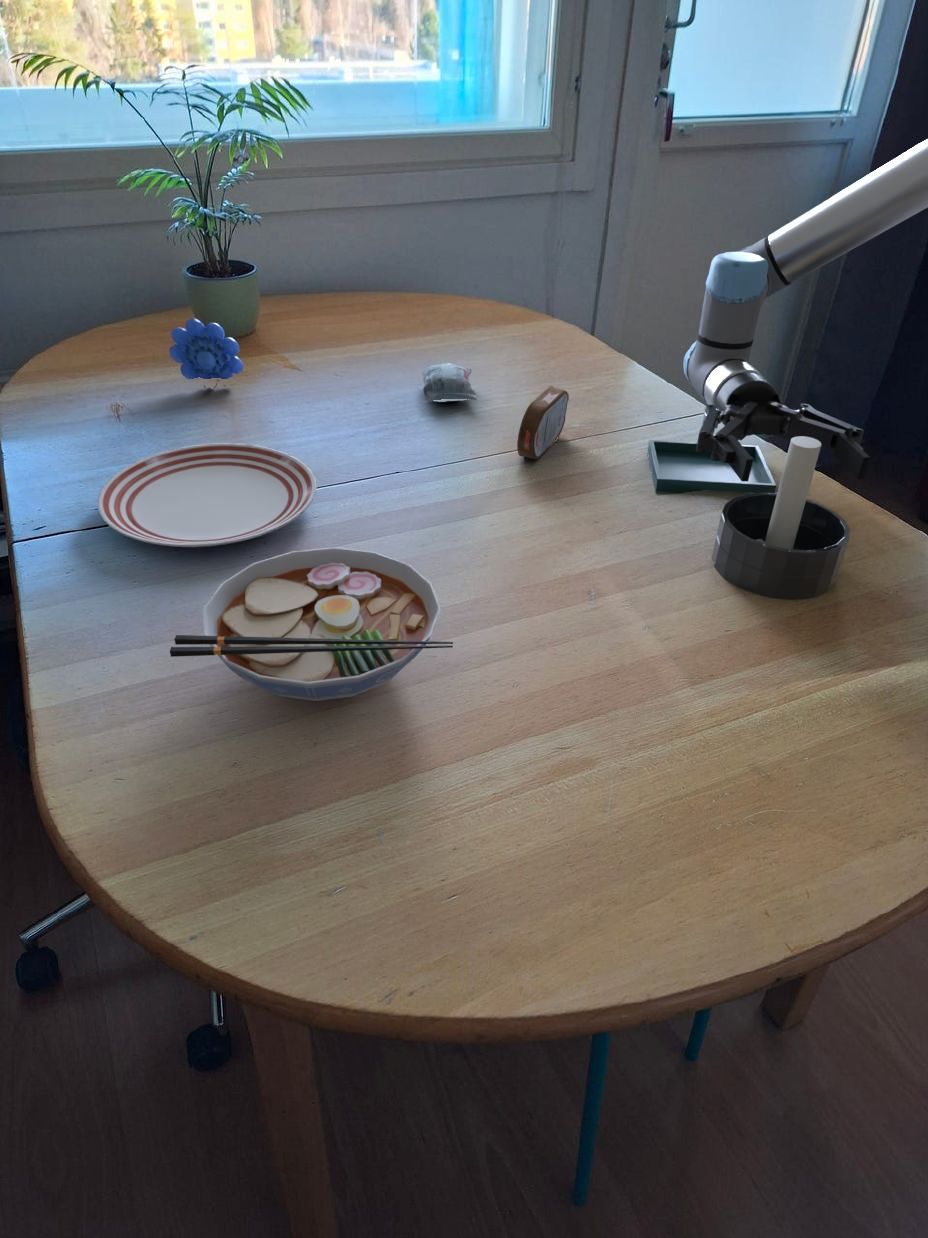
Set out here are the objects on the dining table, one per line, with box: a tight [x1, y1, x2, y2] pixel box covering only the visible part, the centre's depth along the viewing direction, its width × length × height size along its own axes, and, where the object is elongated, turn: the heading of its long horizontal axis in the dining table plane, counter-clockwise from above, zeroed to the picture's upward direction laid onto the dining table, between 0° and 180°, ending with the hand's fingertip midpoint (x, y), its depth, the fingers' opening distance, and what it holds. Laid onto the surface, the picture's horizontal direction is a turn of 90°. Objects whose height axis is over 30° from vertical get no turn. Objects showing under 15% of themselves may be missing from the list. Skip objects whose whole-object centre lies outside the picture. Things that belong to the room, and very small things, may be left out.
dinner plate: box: [97, 442, 318, 548], centre depth 114 cm, size 27×27×3 cm
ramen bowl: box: [169, 546, 454, 702], centre depth 86 cm, size 25×23×8 cm
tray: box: [647, 439, 778, 495], centre depth 126 cm, size 16×13×2 cm
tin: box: [516, 385, 570, 460], centre depth 130 cm, size 15×3×8 cm, turn 155°
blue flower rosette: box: [168, 317, 244, 380], centre depth 145 cm, size 12×7×12 cm, turn 102°
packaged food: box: [422, 362, 478, 403], centre depth 148 cm, size 9×12×5 cm
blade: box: [756, 436, 822, 549], centre depth 100 cm, size 9×9×16 cm
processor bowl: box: [711, 492, 851, 601], centre depth 103 cm, size 14×14×7 cm
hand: (806, 469), depth 98 cm, fingers open, 13 cm apart
